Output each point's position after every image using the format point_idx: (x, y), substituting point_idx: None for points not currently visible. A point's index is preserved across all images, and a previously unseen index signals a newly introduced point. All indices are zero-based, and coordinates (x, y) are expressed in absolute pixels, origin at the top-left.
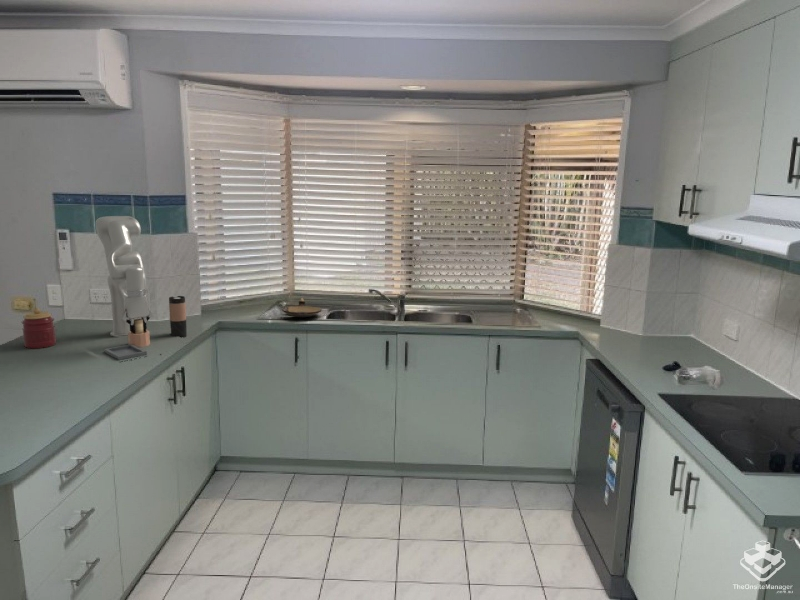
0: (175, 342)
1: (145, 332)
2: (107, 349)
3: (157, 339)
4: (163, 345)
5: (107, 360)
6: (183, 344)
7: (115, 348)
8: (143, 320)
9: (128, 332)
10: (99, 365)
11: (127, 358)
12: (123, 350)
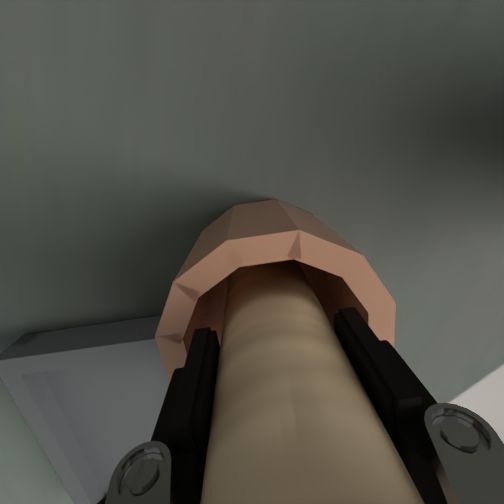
0: (498, 298)
1: (358, 304)
2: (16, 381)
3: (460, 134)
4: (401, 325)
5: None
6: (501, 364)
7: (75, 364)
8: (445, 490)
9: (169, 301)
10: (10, 485)
11: None
12: (133, 374)
